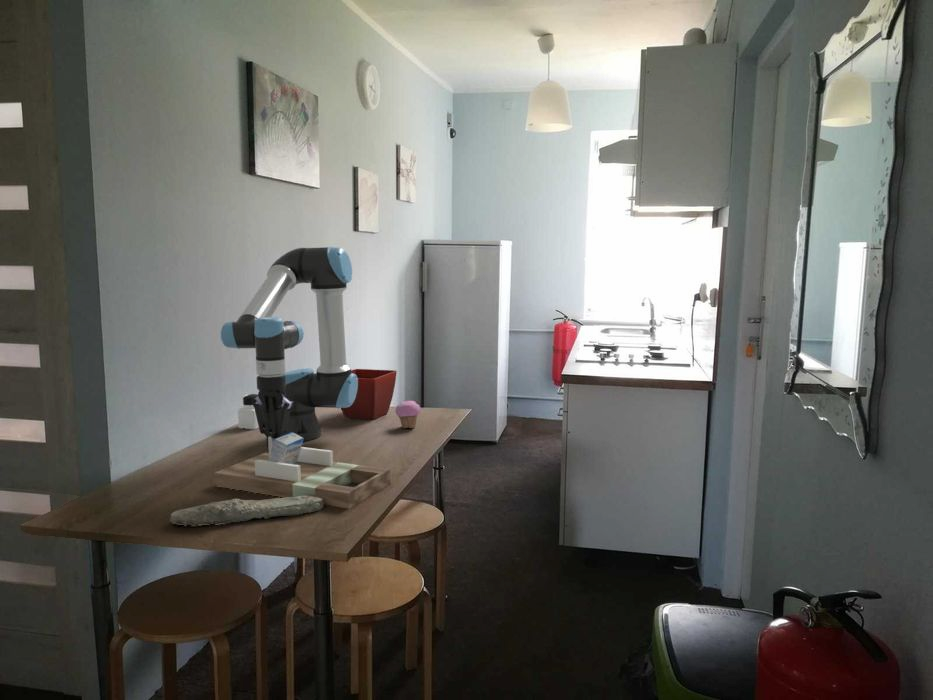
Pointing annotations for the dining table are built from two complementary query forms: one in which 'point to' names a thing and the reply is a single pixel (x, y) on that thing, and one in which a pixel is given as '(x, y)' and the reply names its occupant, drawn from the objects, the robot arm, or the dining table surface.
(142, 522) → the dining table surface
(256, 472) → the channel walls
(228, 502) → the elongated rock
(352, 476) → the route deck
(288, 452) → the medicine box
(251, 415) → the medicine bottle
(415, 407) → the cupcake
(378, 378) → the plant pot
